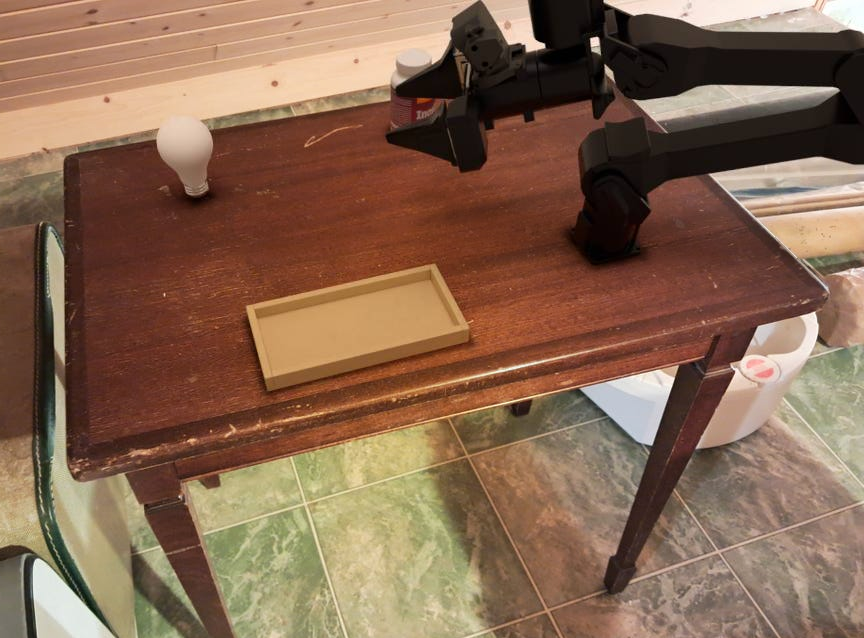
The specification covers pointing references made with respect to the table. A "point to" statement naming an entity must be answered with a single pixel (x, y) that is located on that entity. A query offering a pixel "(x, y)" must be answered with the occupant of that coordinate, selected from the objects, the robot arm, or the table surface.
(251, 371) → the table surface
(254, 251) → the table surface
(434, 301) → the tray
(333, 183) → the table surface
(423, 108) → the pill bottle
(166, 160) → the light bulb
